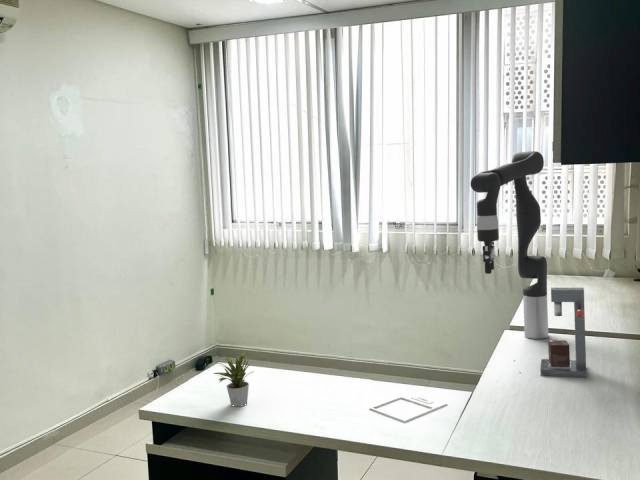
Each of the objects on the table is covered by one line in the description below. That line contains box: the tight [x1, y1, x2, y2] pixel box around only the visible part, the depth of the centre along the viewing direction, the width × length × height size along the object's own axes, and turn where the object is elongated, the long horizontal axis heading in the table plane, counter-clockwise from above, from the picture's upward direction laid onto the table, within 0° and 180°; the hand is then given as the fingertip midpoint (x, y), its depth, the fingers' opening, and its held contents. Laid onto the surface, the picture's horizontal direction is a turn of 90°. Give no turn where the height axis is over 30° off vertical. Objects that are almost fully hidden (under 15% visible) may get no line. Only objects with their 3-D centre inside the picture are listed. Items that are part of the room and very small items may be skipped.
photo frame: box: [368, 391, 448, 423], centre depth 180 cm, size 15×1×18 cm
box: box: [547, 339, 571, 366], centre depth 202 cm, size 6×6×7 cm
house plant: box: [213, 351, 253, 407], centre depth 193 cm, size 14×14×16 cm
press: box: [539, 287, 588, 379], centre depth 199 cm, size 17×14×28 cm
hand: (489, 271), depth 222 cm, fingers open, 8 cm apart
